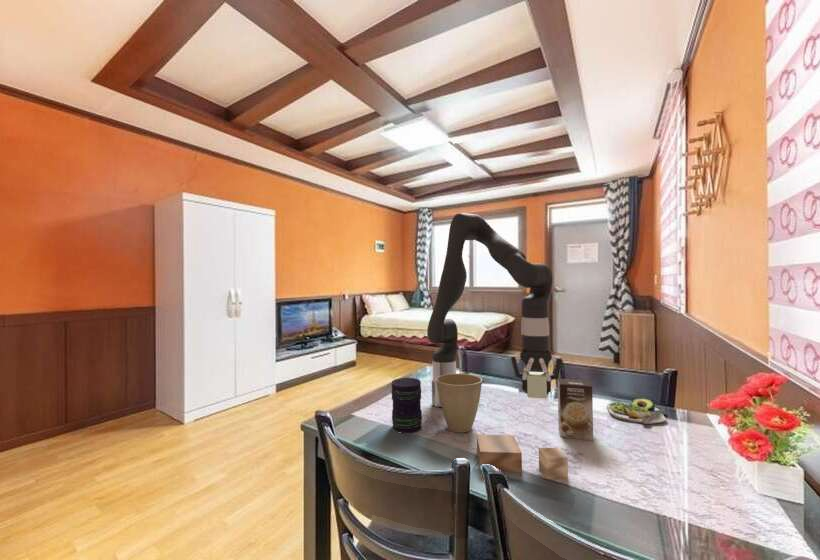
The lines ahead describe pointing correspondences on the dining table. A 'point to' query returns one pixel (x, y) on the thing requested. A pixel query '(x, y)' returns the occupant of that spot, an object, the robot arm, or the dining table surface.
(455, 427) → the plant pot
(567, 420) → the coffee box
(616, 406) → the salad plate
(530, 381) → the sage block
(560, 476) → the maple block
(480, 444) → the walnut block
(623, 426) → the dining table surface
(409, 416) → the storage jar
